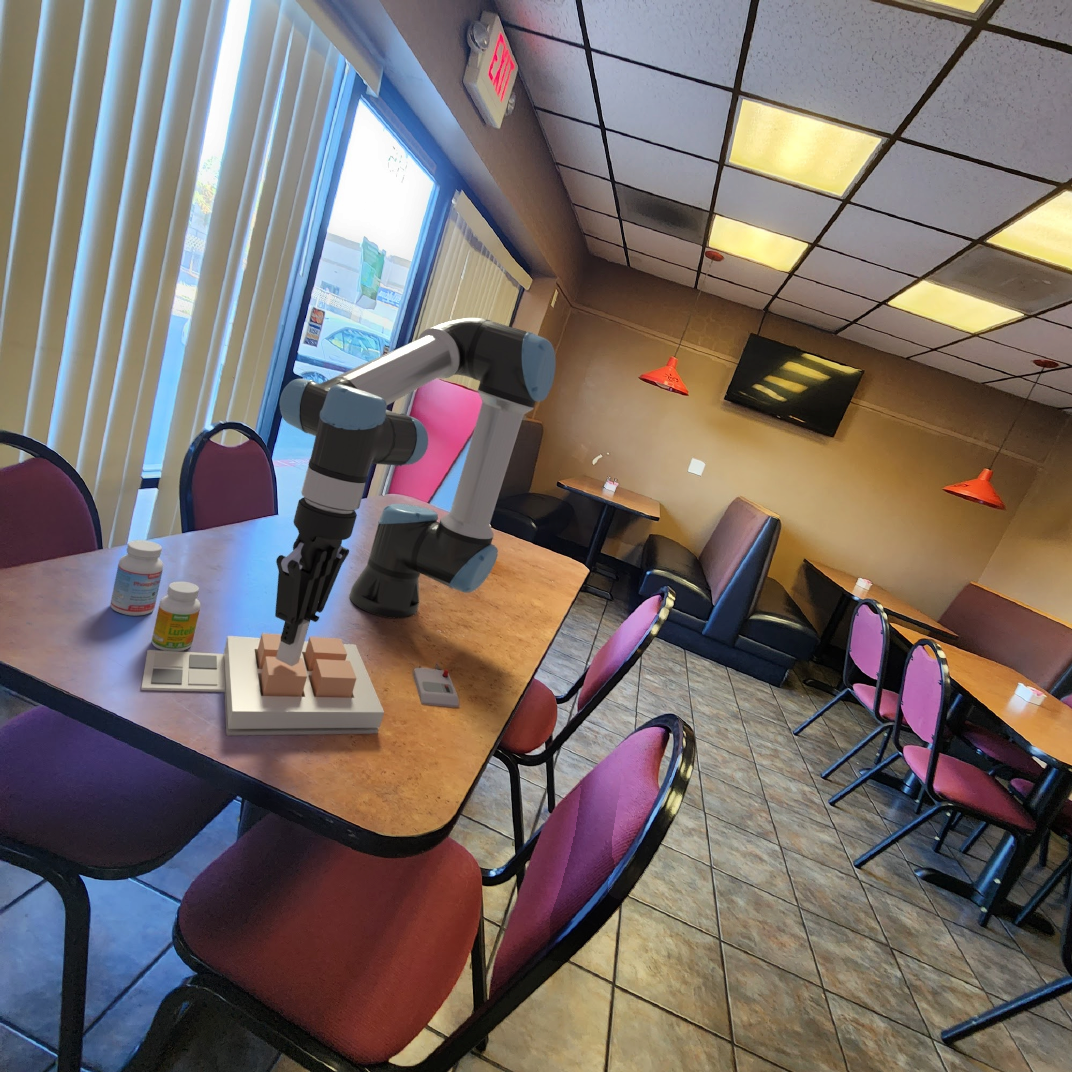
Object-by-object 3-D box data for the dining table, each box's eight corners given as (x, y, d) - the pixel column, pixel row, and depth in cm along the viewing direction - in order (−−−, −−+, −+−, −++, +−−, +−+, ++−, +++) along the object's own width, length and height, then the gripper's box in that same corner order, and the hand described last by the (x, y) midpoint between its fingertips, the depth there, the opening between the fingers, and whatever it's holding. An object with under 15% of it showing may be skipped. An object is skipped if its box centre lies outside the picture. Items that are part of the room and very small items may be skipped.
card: (222, 656, 91) (223, 652, 91) (224, 692, 83) (225, 688, 83) (147, 652, 86) (148, 648, 86) (141, 690, 78) (141, 686, 78)
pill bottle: (132, 620, 93) (145, 555, 90) (100, 606, 93) (112, 541, 91) (163, 610, 98) (176, 548, 96) (132, 597, 99) (144, 535, 97)
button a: (296, 678, 87) (302, 658, 86) (301, 697, 82) (307, 676, 82) (260, 677, 84) (265, 656, 83) (263, 696, 80) (268, 675, 79)
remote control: (422, 713, 96) (427, 697, 95) (408, 665, 110) (412, 650, 109) (460, 716, 98) (465, 701, 98) (441, 669, 112) (446, 655, 112)
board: (350, 662, 102) (355, 644, 101) (377, 733, 86) (384, 712, 85) (222, 656, 91) (227, 635, 91) (226, 735, 75) (232, 711, 74)
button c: (344, 680, 90) (349, 660, 90) (350, 698, 86) (356, 678, 86) (310, 678, 88) (316, 659, 87) (315, 697, 84) (321, 677, 83)
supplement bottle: (162, 655, 86) (175, 596, 85) (144, 638, 89) (156, 580, 87) (198, 648, 91) (211, 592, 89) (180, 633, 94) (192, 578, 92)
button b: (291, 654, 92) (296, 635, 92) (295, 671, 88) (300, 651, 87) (256, 652, 90) (261, 632, 89) (259, 669, 86) (264, 649, 85)
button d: (335, 657, 96) (341, 638, 95) (341, 673, 92) (347, 654, 91) (304, 655, 93) (309, 636, 93) (308, 671, 89) (314, 652, 89)
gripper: (334, 492, 84) (295, 637, 89) (272, 496, 72) (230, 665, 77) (378, 510, 83) (336, 656, 88) (323, 518, 70) (277, 688, 75)
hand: (287, 660), depth 82 cm, fingers closed
